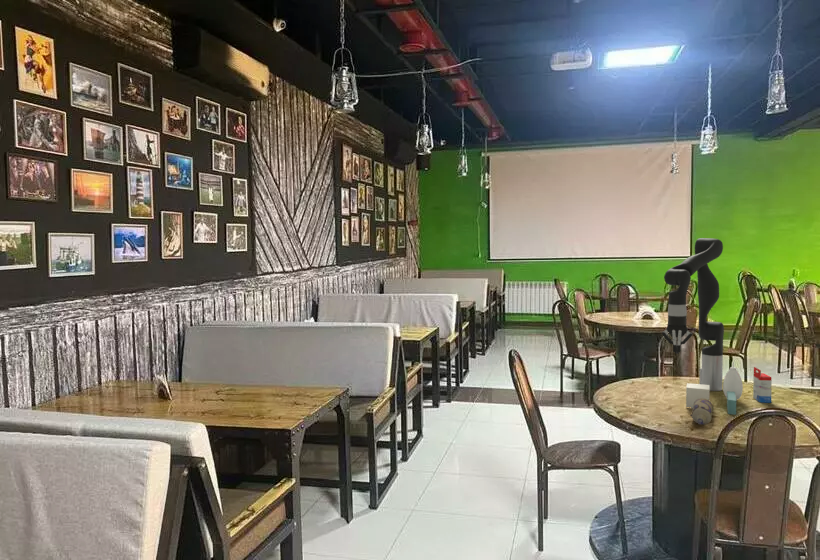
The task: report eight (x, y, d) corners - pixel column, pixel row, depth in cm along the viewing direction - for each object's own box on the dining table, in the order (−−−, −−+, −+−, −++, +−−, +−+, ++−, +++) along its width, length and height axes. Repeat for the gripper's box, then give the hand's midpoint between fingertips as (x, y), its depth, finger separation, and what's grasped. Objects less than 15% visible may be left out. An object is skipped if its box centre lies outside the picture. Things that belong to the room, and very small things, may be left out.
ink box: (771, 403, 260) (772, 370, 259) (759, 402, 261) (760, 370, 260) (764, 398, 269) (764, 366, 268) (752, 397, 270) (753, 366, 269)
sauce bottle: (741, 399, 267) (742, 360, 266) (743, 403, 260) (743, 363, 259) (722, 398, 270) (722, 359, 269) (723, 402, 263) (723, 362, 262)
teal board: (727, 413, 245) (728, 399, 244) (726, 404, 259) (727, 391, 259) (736, 414, 243) (736, 400, 243) (734, 405, 258) (734, 391, 257)
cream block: (686, 407, 255) (686, 387, 255) (686, 402, 263) (687, 383, 263) (709, 410, 251) (709, 389, 251) (709, 405, 259) (709, 385, 259)
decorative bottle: (693, 412, 249) (693, 396, 248) (713, 414, 245) (713, 399, 244) (687, 428, 226) (688, 411, 226) (709, 431, 222) (710, 414, 222)
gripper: (660, 314, 259) (660, 353, 260) (693, 316, 252) (693, 355, 253) (661, 313, 265) (661, 350, 266) (694, 314, 259) (693, 352, 260)
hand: (676, 353), depth 260 cm, fingers closed
